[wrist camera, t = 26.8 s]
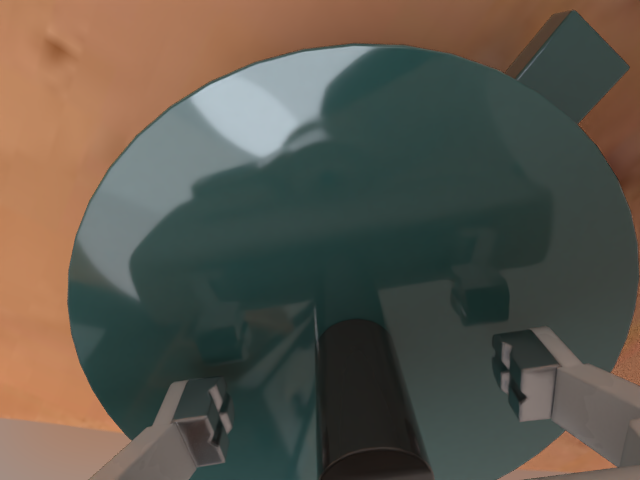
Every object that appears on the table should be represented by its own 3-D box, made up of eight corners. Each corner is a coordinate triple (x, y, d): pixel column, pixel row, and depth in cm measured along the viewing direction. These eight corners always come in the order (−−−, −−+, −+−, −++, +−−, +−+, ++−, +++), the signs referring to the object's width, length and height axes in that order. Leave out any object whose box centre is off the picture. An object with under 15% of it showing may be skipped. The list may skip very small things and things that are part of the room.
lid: (721, 271, 13) (994, 407, 8) (386, 536, 19) (415, 714, 14) (272, -136, 8) (212, -452, 3) (12, 380, 14) (-158, 560, 9)
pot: (604, 157, 19) (795, 218, 12) (339, 423, 26) (351, 567, 19) (331, -92, 15) (353, -253, 7) (103, 307, 22) (-4, 433, 15)
